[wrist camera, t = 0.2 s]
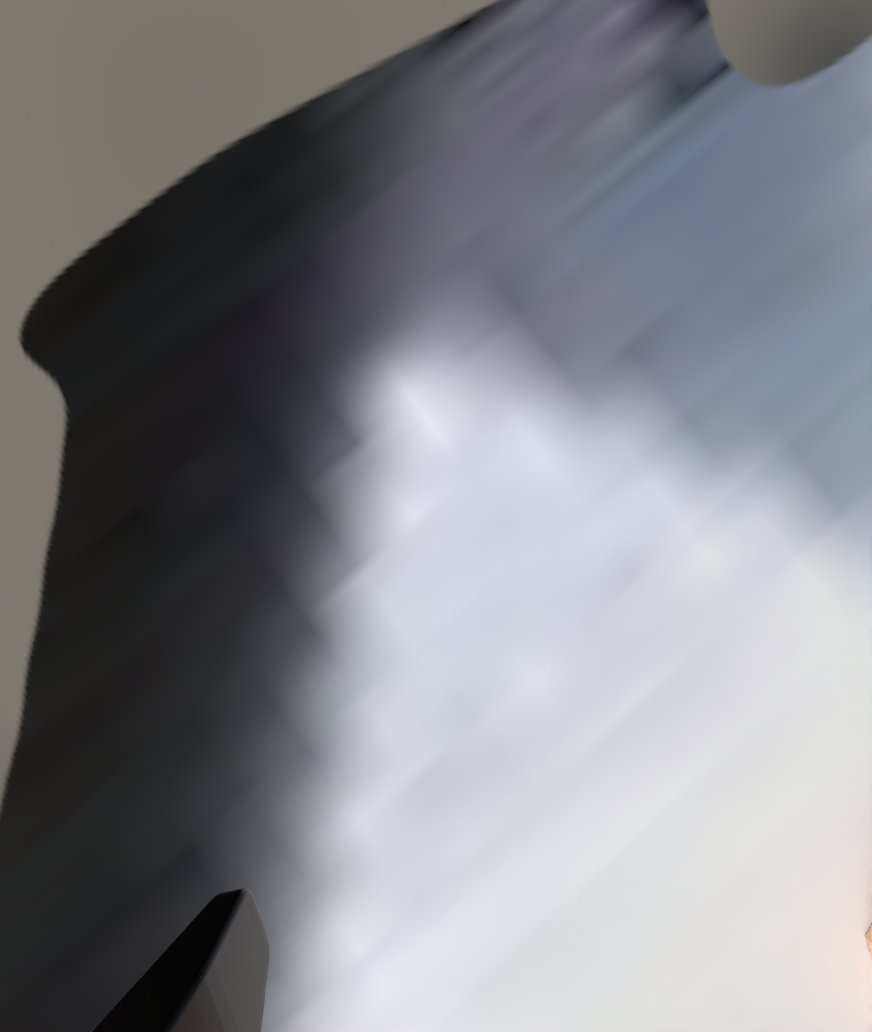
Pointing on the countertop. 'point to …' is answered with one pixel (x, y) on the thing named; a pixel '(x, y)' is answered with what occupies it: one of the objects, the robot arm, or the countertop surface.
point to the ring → (869, 939)
